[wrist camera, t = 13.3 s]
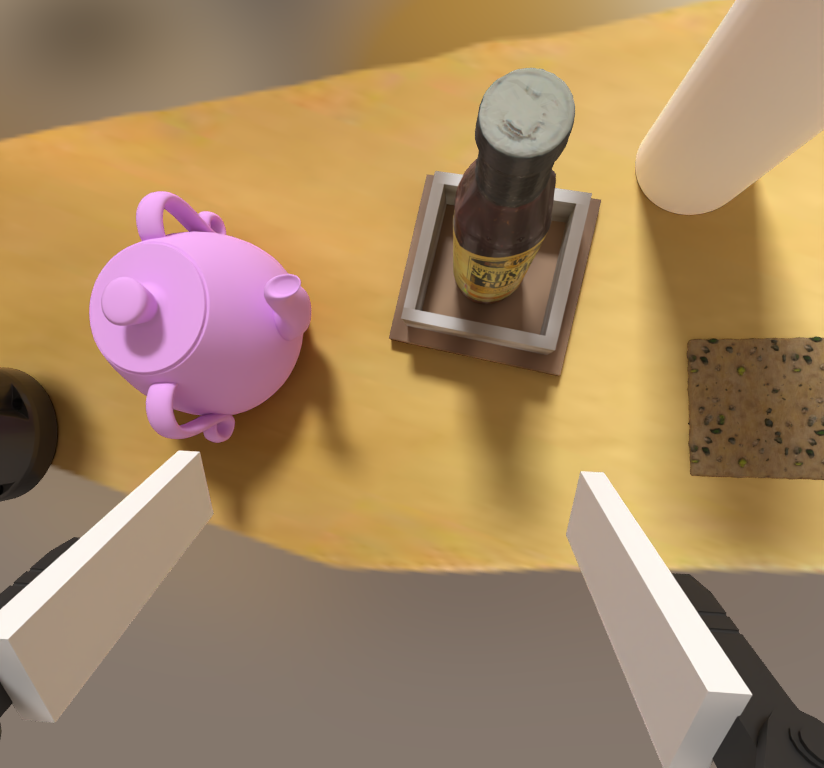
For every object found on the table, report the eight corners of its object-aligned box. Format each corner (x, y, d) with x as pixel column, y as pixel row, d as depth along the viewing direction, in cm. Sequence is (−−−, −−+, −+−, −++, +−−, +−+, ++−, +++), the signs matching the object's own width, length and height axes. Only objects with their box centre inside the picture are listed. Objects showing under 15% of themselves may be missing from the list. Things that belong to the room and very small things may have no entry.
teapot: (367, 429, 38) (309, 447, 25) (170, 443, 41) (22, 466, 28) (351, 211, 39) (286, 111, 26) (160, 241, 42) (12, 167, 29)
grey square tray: (391, 339, 38) (380, 332, 34) (428, 180, 38) (422, 151, 34) (557, 375, 36) (570, 372, 31) (597, 205, 36) (615, 177, 31)
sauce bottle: (468, 317, 36) (468, 216, 16) (443, 256, 36) (416, 87, 17) (536, 290, 35) (623, 149, 15) (510, 228, 36) (563, 16, 16)
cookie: (686, 477, 34) (693, 479, 33) (683, 339, 34) (689, 337, 34) (844, 481, 32) (856, 484, 31) (838, 336, 33) (850, 334, 32)
